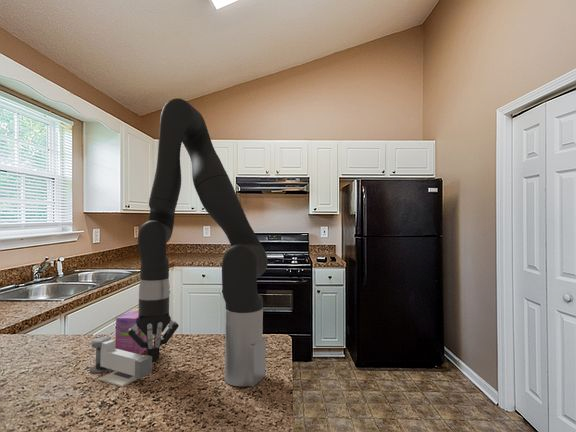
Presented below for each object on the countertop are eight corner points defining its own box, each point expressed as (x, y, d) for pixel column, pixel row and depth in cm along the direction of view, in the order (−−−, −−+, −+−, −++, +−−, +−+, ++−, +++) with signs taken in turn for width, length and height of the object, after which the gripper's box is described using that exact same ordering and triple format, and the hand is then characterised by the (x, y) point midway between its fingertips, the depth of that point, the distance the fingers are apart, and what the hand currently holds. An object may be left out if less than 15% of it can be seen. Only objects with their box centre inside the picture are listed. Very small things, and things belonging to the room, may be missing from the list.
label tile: (149, 372, 83) (149, 370, 83) (122, 386, 76) (122, 384, 76) (127, 366, 86) (127, 364, 86) (99, 379, 79) (99, 377, 79)
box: (134, 361, 90) (135, 318, 90) (114, 360, 90) (115, 317, 90) (151, 346, 100) (152, 308, 100) (133, 346, 100) (133, 307, 101)
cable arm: (87, 364, 84) (87, 341, 84) (103, 358, 88) (103, 336, 88) (138, 379, 76) (138, 354, 76) (153, 372, 80) (153, 347, 80)
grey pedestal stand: (116, 367, 86) (116, 344, 86) (98, 375, 81) (98, 350, 82) (103, 363, 88) (103, 341, 88) (85, 371, 83) (85, 347, 84)
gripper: (177, 290, 93) (176, 351, 92) (125, 295, 86) (124, 361, 86) (183, 295, 86) (181, 361, 86) (127, 301, 80) (126, 372, 79)
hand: (153, 361), depth 86 cm, fingers closed
